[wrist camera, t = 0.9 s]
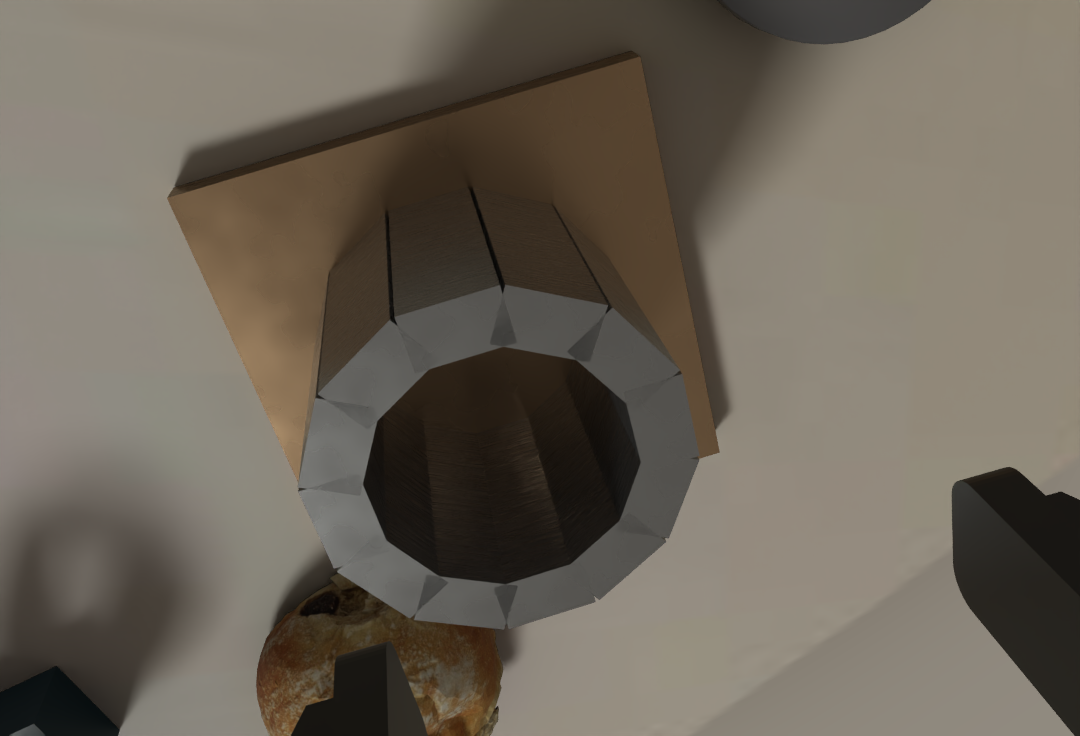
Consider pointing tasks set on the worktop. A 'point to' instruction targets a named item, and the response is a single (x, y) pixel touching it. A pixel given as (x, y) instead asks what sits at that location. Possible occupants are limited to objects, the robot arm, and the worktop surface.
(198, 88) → the worktop surface
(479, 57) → the worktop surface
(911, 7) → the cap
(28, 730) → the watch
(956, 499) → the robot arm
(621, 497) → the gray cylinder on base
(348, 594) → the bread roll
